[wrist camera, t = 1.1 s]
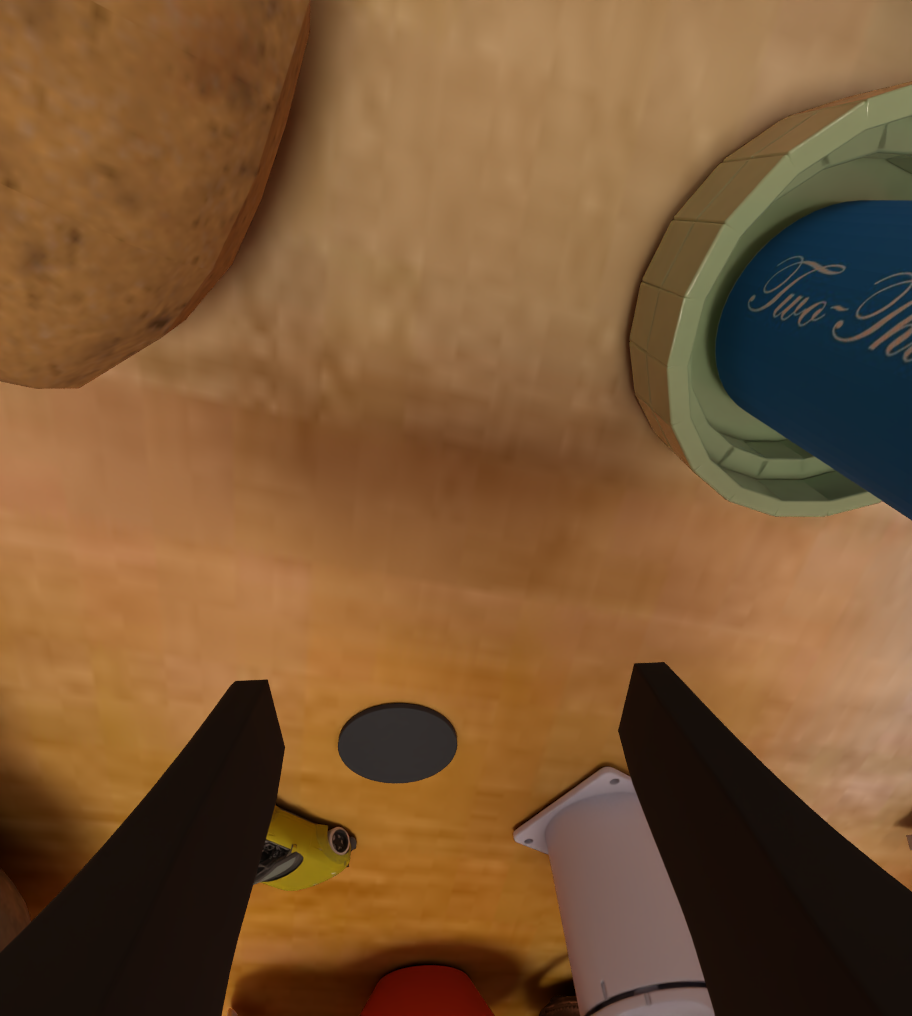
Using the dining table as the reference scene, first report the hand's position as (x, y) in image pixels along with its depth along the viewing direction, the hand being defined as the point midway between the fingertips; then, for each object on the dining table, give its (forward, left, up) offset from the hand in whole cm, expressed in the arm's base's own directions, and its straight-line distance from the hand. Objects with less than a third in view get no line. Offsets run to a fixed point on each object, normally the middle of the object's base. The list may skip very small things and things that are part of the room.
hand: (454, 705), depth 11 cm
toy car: (-6, +23, -10) cm, 26 cm away
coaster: (-8, +13, -10) cm, 19 cm away
